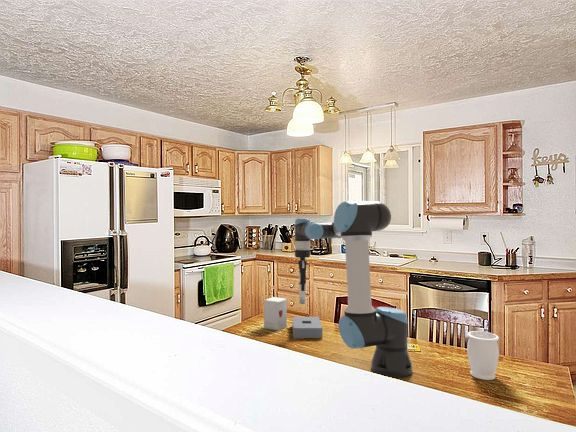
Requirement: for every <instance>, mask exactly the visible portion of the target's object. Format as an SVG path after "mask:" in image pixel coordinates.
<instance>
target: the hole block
mask: <svg viewBox="0 0 576 432" xmlns="http://www.w3.org/2000/svg"><path fill="white" fill-rule="evenodd" d="M291 319H292V321H291V322H292V338H293V339H295V340H297V339H299V340H300V339H304V338H322V339H323V325H322V322H321V320H320V316H292V318H291Z"/></svg>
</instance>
